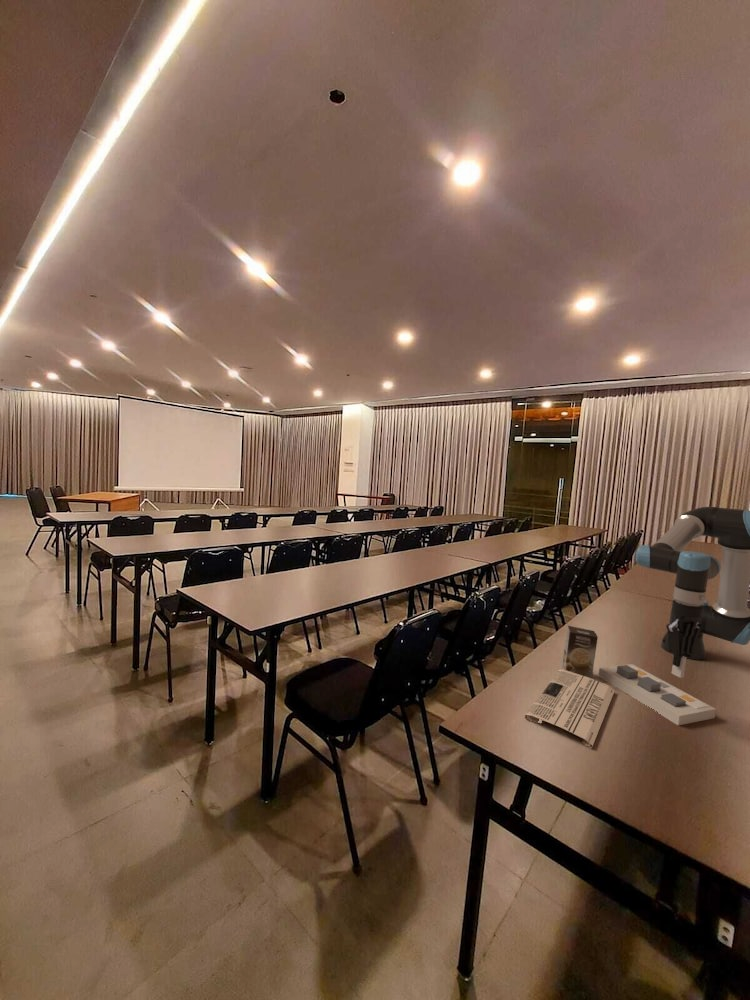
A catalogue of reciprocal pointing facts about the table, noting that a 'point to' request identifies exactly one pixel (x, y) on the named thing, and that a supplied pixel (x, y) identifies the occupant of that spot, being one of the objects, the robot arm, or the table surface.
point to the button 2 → (673, 700)
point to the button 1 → (627, 672)
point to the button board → (659, 696)
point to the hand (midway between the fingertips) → (677, 675)
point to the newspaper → (573, 705)
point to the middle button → (649, 684)
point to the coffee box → (579, 651)
